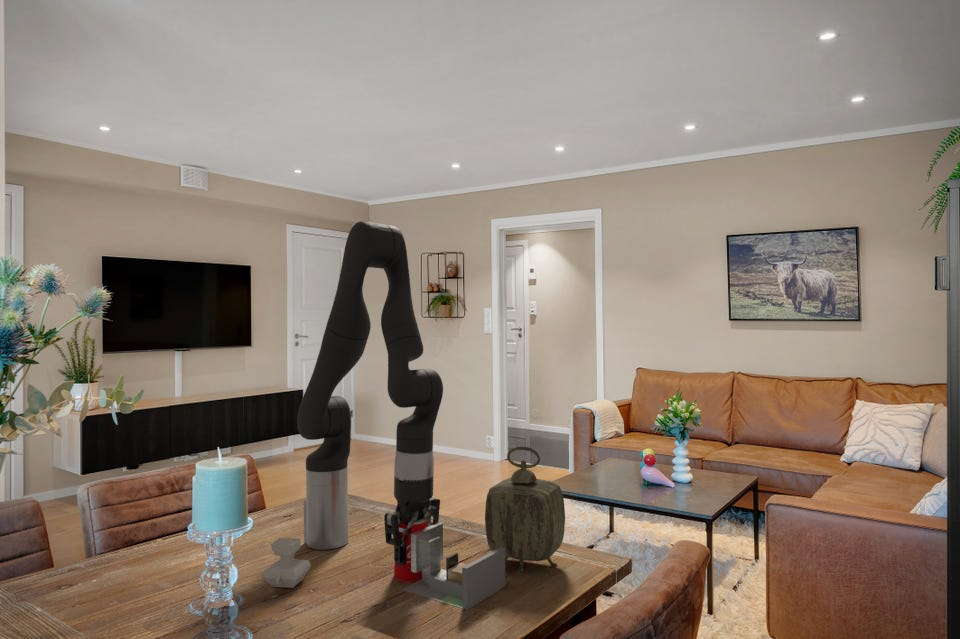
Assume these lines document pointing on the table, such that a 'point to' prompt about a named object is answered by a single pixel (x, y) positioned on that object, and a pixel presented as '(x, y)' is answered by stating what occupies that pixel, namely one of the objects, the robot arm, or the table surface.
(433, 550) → the plunger
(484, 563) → the base
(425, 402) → the robot arm
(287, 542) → the stamp
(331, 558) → the table surface
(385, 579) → the table surface
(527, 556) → the tabletop clock
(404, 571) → the beverage can
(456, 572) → the wooden cube
